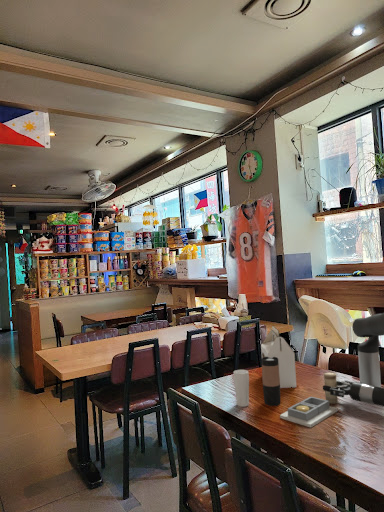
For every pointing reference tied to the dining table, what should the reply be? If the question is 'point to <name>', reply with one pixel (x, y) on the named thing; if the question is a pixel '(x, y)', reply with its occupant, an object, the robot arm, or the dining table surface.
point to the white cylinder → (242, 387)
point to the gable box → (280, 357)
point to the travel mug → (271, 381)
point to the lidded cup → (331, 381)
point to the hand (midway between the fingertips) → (328, 385)
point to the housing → (309, 412)
